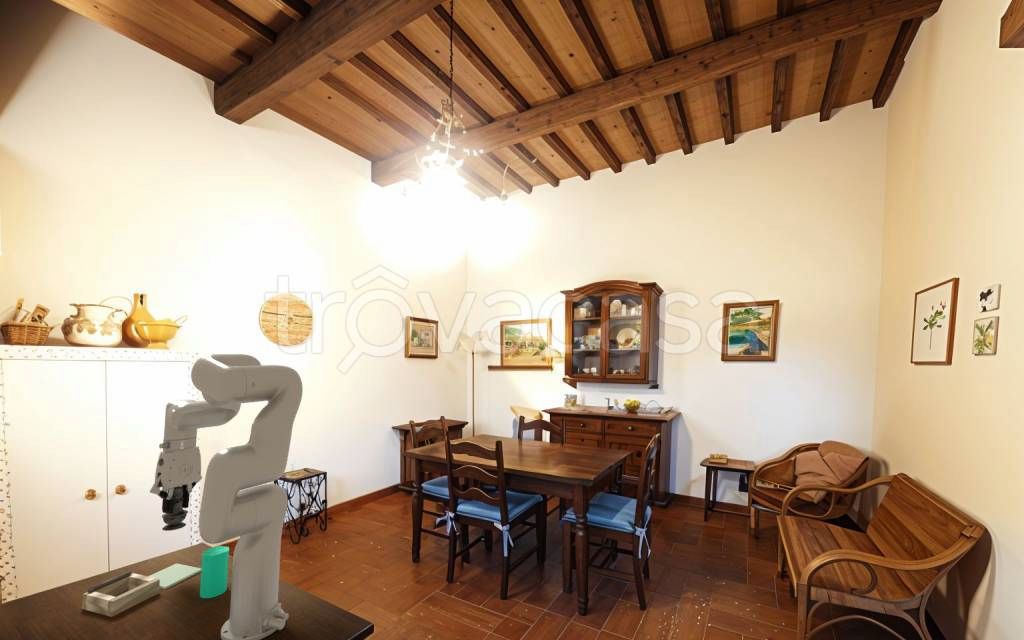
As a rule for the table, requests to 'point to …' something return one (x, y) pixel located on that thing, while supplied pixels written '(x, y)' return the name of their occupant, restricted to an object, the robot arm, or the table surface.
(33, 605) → the table surface
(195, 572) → the mat
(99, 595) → the holder
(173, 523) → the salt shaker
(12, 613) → the table surface
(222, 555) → the candle
